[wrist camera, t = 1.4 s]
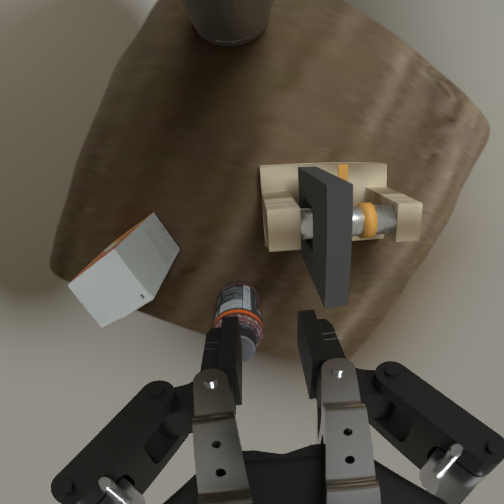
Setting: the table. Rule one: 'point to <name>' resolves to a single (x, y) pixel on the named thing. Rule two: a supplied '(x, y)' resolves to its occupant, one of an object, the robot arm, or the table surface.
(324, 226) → the dark grey flat block
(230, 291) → the supplement bottle
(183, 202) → the table surface
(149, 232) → the small box
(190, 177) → the table surface
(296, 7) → the table surface
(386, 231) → the pipe stand
